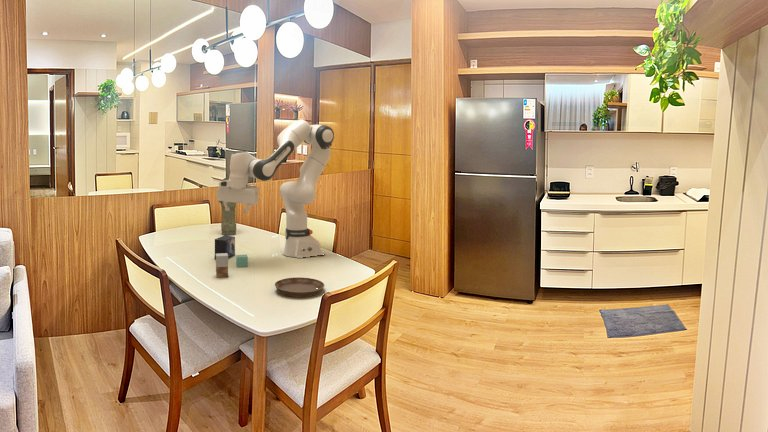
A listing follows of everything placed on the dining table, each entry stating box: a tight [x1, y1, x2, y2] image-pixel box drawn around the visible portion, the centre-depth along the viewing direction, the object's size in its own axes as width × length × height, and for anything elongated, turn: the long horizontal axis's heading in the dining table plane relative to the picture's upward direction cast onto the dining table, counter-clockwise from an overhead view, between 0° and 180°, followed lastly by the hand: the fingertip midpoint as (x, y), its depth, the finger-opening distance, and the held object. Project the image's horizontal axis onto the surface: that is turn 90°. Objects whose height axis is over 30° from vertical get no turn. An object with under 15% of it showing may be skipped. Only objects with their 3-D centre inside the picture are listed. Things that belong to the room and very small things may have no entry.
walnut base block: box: [215, 266, 229, 279], centre depth 234 cm, size 5×5×5 cm
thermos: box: [218, 177, 237, 236], centre depth 319 cm, size 9×12×35 cm
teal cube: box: [235, 254, 249, 268], centre depth 252 cm, size 5×5×5 cm
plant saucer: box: [274, 277, 325, 298], centre depth 218 cm, size 21×21×3 cm
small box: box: [214, 235, 236, 260], centre depth 266 cm, size 11×6×10 cm, turn 168°
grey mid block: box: [215, 253, 229, 268], centre depth 233 cm, size 5×5×5 cm
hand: (236, 211), depth 253 cm, fingers open, 8 cm apart
